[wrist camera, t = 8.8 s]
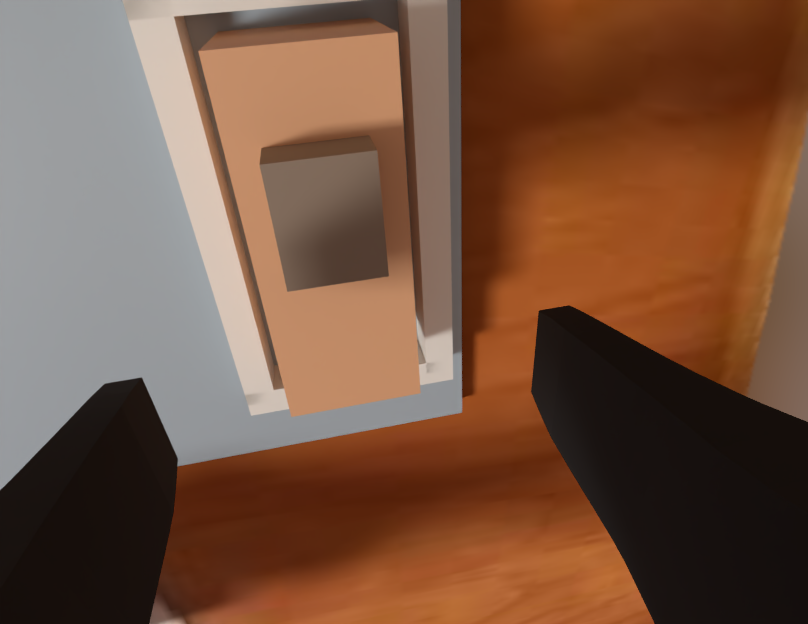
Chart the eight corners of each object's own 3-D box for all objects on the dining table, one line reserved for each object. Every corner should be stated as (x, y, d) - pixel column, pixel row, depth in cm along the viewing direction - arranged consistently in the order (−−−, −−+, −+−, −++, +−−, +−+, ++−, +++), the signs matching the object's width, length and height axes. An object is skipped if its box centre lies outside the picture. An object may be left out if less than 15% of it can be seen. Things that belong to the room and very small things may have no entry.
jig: (456, 400, 24) (471, 435, 22) (0, 485, 21) (-26, 533, 19) (451, -115, 14) (477, -127, 12) (-412, -64, 11) (-546, -70, 9)
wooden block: (397, 322, 20) (429, 420, 15) (289, 340, 19) (292, 447, 15) (370, 17, 14) (409, 38, 10) (217, 31, 14) (189, 59, 9)
